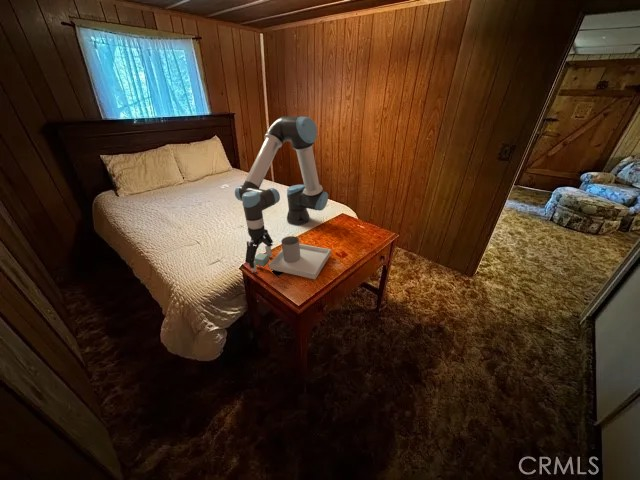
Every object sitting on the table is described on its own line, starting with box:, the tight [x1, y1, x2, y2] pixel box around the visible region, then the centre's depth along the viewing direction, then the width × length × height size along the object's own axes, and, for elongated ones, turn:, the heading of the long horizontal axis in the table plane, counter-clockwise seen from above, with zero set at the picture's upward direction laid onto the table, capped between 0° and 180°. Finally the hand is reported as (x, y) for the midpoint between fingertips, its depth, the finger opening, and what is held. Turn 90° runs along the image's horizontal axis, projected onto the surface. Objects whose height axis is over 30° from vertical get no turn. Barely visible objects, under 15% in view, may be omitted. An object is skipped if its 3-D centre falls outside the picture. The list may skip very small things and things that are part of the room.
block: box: [254, 252, 270, 267], centre depth 124 cm, size 5×5×5 cm
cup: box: [281, 235, 300, 263], centre depth 123 cm, size 8×8×10 cm
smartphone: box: [272, 270, 285, 277], centre depth 123 cm, size 7×1×15 cm
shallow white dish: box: [268, 243, 332, 280], centre depth 124 cm, size 22×24×4 cm
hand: (262, 264), depth 125 cm, fingers open, 13 cm apart
